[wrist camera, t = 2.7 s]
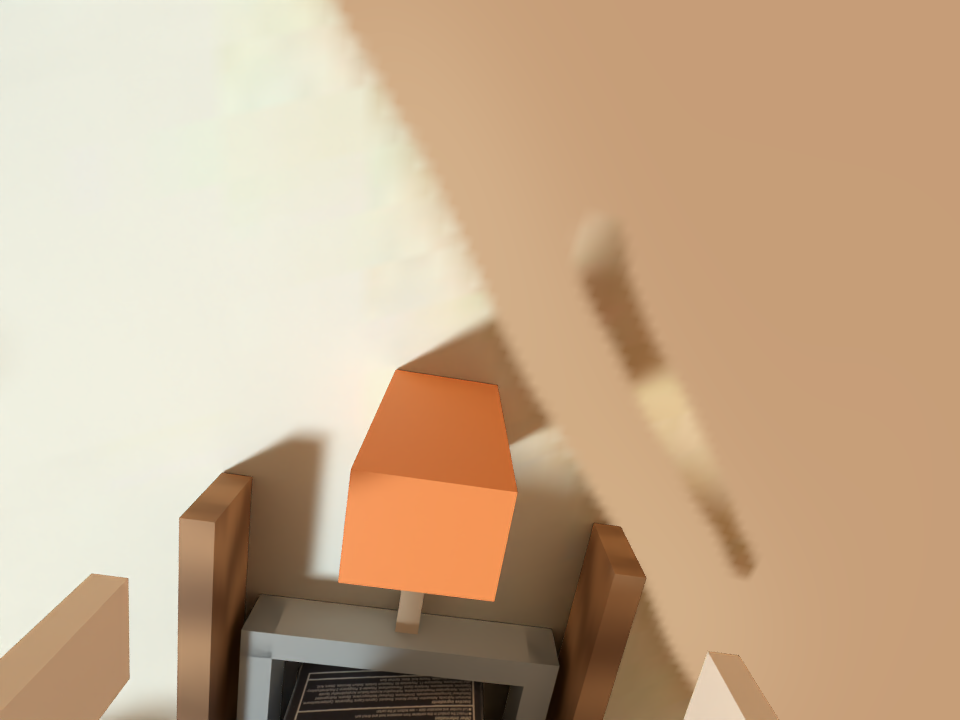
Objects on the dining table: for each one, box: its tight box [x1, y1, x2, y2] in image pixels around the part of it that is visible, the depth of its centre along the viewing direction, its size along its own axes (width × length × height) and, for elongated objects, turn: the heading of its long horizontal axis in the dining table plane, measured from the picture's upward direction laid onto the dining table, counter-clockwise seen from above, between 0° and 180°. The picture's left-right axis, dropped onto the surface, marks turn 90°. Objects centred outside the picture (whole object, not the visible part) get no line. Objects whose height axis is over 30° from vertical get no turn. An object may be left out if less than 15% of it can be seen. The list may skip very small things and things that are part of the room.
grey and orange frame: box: [237, 370, 559, 720], centre depth 23 cm, size 27×16×10 cm, turn 170°
